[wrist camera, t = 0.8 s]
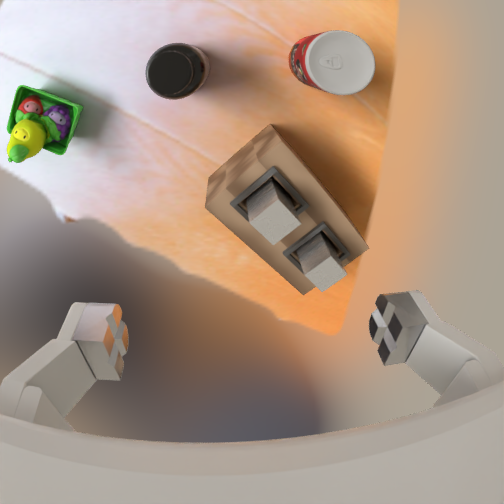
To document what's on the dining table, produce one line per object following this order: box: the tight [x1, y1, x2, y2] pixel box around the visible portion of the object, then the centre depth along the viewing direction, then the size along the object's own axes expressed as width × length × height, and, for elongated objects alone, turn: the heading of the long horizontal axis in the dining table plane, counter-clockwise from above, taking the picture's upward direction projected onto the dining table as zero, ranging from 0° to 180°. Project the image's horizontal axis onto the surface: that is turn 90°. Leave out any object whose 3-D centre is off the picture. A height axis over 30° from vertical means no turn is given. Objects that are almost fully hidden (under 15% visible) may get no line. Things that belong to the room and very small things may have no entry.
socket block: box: [205, 124, 369, 295], centre depth 45 cm, size 12×20×11 cm, turn 42°
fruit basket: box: [7, 85, 83, 163], centre depth 33 cm, size 11×9×11 cm
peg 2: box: [296, 230, 347, 292], centre depth 43 cm, size 4×4×9 cm
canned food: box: [289, 30, 375, 95], centre depth 33 cm, size 8×8×11 cm
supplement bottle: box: [146, 43, 210, 100], centre depth 32 cm, size 7×7×12 cm
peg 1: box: [246, 176, 301, 245], centre depth 38 cm, size 4×4×9 cm
